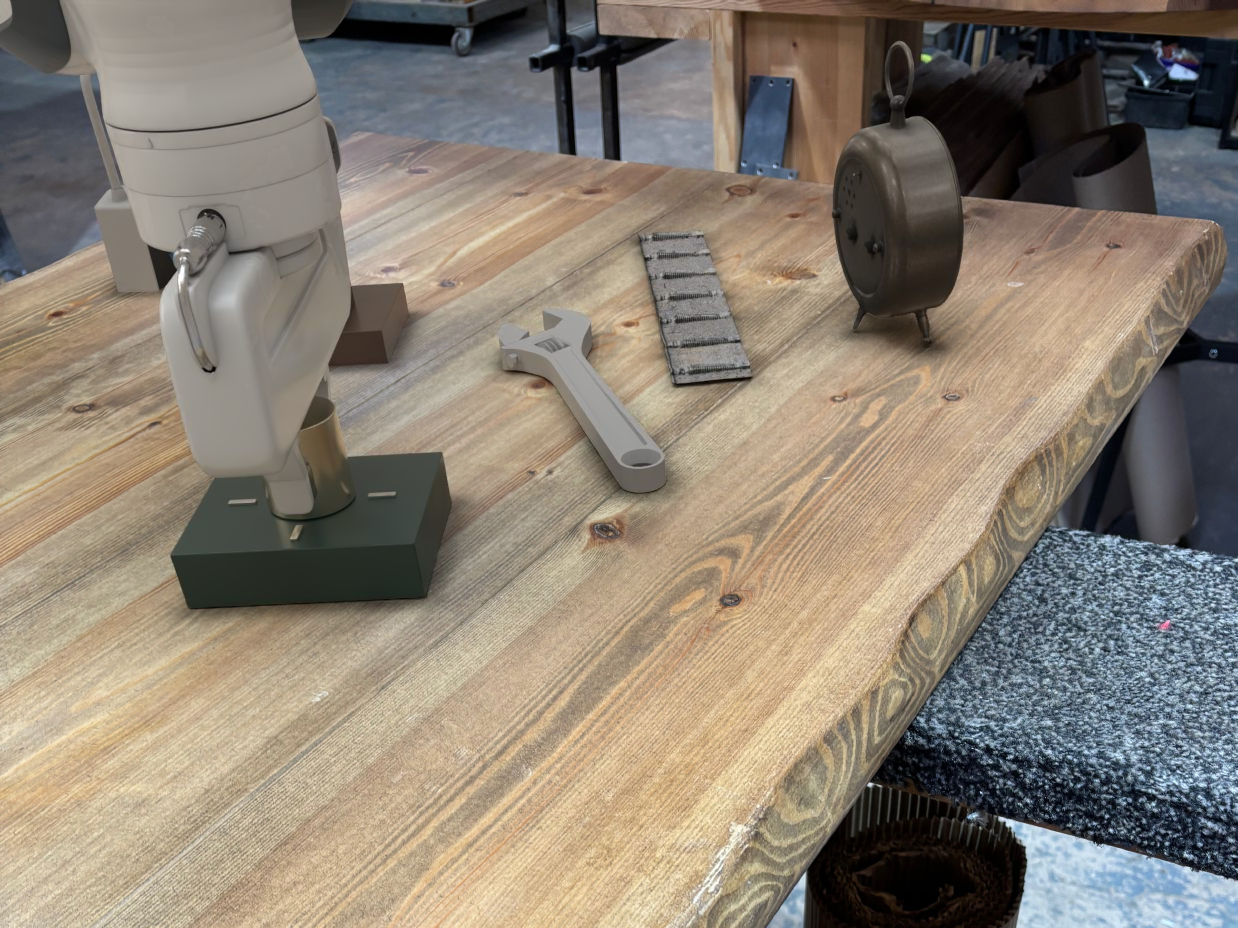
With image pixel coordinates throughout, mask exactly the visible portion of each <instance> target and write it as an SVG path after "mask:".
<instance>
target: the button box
mask: <svg viewBox="0 0 1238 928" xmlns="http://www.w3.org/2000/svg"><path fill="white" fill-rule="evenodd" d="M404 284H405V283H404V282H392V283H391V282H389V283H376V284H375V283H374V284H373V283H372V284H358V285H352V281H350V289H351V306H350V315H349V317H348V319H347V321H346V324H345V326H344V328H343V330H342V333H341V335H340V337H339V340H338V342H337V344H336V347H335V349H334V351H333V354H332V356H331V358H330V361H329V363H328V367H329V368H331V367H344V366H345V367H347V366H363V365H383V364H389V362H390V360H391V358H392V356H393V353H394V351H395V349H396V346H397V344H398V341H399V339H400V337H401V334H402V332H403V329H404V327H405V325H406V322H407V320H408V317H409V315H410V312H409V305H408V301H407V296H406V290H405V285H404Z"/></svg>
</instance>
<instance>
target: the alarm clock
mask: <svg viewBox="0 0 1238 928" xmlns="http://www.w3.org/2000/svg"><path fill="white" fill-rule="evenodd" d="M897 49H902V50H903V53H904V55H905V57H906V60H907V67H908V68H907V69H908V85H907V90H906V93H905V96H904V95H900V94H897V95H894V94H893V91H892V86H891V80H890V65H891V62H892V58H893V55H894V54H895V51H896V50H897ZM914 82H915V63H914V58H913V54H912V51H911V49H910V47H909V46H908V45H907V44H906V43H905V41H901V40H897V41H895V42H894V43H893V44H892V45H891V46H890V48H889V49H888V52H887V53H886V58H885V62H884V85H885V89H886V93H887V96H888V98H889V100H890V101H889V107H890V109H891V112H890V120H889V122H886V123H882V124H876V125H871V126H868V127H865V128H864V127H863V128H861V129H859V130H858V131H856V132H854V134H853V135H851V136H850V138H849V139H848V140H847V142H846V143H845V144H844V147H843V149H842V150H841V152H840V155H839V158H838V161H837V164H836V168H835V173H834V177H833V178H834V179H833V187H832V211H831V219H832V222H833V230H834V239H835V245H836V249H837V254H838V259H839V263H840V266H841V269H842V272H843V275H844V278H845V282H846V283H847V285H848V288H849V290H850V291H851V293H852V295H853V297H854V299H855V300H856V301H857V305H858V306H859V307H858V309H857V313H856V316H855V319H854V321H853V324H852V327H851V329H852V331H853V332H855V331H857V330H858V328H859V327H860V324H861V323H862V320H863V319H864V317H865V316H866V314H868V315H871V316H873V317H874V318H878V319H883V320H887V319H893V318H897V317H902V316H905V315H910V314H914V316H915V319H916V323H917V327H918V329H919V332H920V333H921V335H922V339H921V344H922V346H923V347H925V348H927V347H930V346H932V344H933V338H932V337H931V328H930V327H931V326H930V321H929V317H928V314H927V313H928V312H927V311H928V310H930V309H936V308H939V307H941V306H942V305H944V303H945V302H946V301H947V300H948V299H949V297H950V296H951V294H952V292H953V290H954V288H955V286H956V283H957V280H958V278H959V273H960V269H961V263H962V258H963V250H964V237H965V235H964V234H965V226H964V225H965V224H964V223H965V221H964V210H963V201H962V194H961V187H960V183H959V178H958V177H959V176H958V174H957V169H956V165H955V162H954V160H953V157H952V155H951V151H950V149H949V147H948V146H947V142H946V140H945V138H944V136H943V135H942V134H941V133H942V132H940V130H939V129H938V128H937V127H936V125H934V124H933V123H932V122H931V121H929V120H928V119H927V118H925V117H923V116H919V115H913V116H911V117H909V118H906V114H905V108H906V107H907V102H908V100H909V98H910V97H911V95H912V93H913V86H914Z"/></svg>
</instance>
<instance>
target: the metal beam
mask: <svg viewBox="0 0 1238 928" xmlns="http://www.w3.org/2000/svg"><path fill="white" fill-rule="evenodd" d="M704 235H705V234H704V231H702V229H696V230H685V231H676V232H675V231H673V232H662V231H661V232H651V233H645V234H639V233H637V236H638V240H639V245H640V249H641V253H642V256H643V260H644V266H645V269H646V270H645V271H646V274H647V277H648V282H649V286H650V290H651V295H652V298H653V304H654V308H655V312H656V317H657V319H658V326H659V330H660V334H661V339H662V343H663V344H664V350H665V355H666V358H667V361H668V362H667V365H668V369H669V371H670V377H671V382H672V384H673V385H674V384H688V383H696V382H705V381H713V380H714V381H716V380H723V379H724V380H725V379H738V378H749V377H753V376H754V375H753V370H751V363H750V361H749V359H748V358H747V355H746V353H745V350H744V347H743V343H742V338H741V335H740V334H739V332H738V329H737V326H736V324H735V321H734V317H733V314H732V311H731V310H730V309H731V308H730V307H729V304H728V301H727V299H726V296H725V295H726V294H725V290H723V287H722V285H721V282H720V279H719V276H718V271H717V268H716V267H715V265H714V262H713V260H712V257H711V251H710V249H709V248H708V244H707V242H706V240H705V236H704Z"/></svg>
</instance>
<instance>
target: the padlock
mask: <svg viewBox="0 0 1238 928" xmlns="http://www.w3.org/2000/svg"><path fill="white" fill-rule="evenodd" d="M91 75H92V74H89V75H79V81H80V86H81V87H80V88H81V91H82V95H83V98H84V102H85V106H86V109H87V112H88V117H89V119H90V122H91V125H92V129H93V132H94V135H95V139H96V141H97V142H96V143H97V145H98V149H99V151H100V154H101V158H102V161H103V165H104V167H105V172H106V174H107V178H108V181H109V183H110V187H111V188H109V189H108V190H106V192H105V193H104V194H103V195H102V196H101V198H100V199H99V200H98V201H97V203H96V204H95V205H94V208H93V209H94V213H95V216H96V220H97V223H98V226H99V227H98V228H99V231H100V234H101V238H102V241H103V244H104V247H105V252H106V255H107V258H108V262H109V265H110V269H111V273H112V276H113V281H114V284H115V286H116V290H117V293H145V292H146V293H149V292H156V293H157V292H159V291H161V290H162V289H164V288H165V287H166V285H167V284H168V283H169V281H170V280H171V278H172V277H173V276H174V274H175V273H176V272H177V269H176V267H175V265H174V262H173V255H174V252H168V251H163V250H160V249H156V248H154V247H151V246H150V245H148V244H146V243H145V242H144V241H143V240H142V238H141V237H140V234H139V231H138V228H137V225H136V222H135V218H134V215H133V212H132V209H131V206H130V202H129V199H128V196H127V193H126V190H125V186H124V184H122V185H121V181H120V177H119V174H118V172H117V168H116V165H115V162H114V158H113V155H112V152H111V148H110V145H109V143H108V139H107V136H106V132H105V129H104V126H103V122H102V118H101V115H100V112H99V109H98V105H97V101H96V99H95V98H96V97H95V94H94V90H93V86H92V80H91V79H92V78H91V77H92V76H91Z"/></svg>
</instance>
